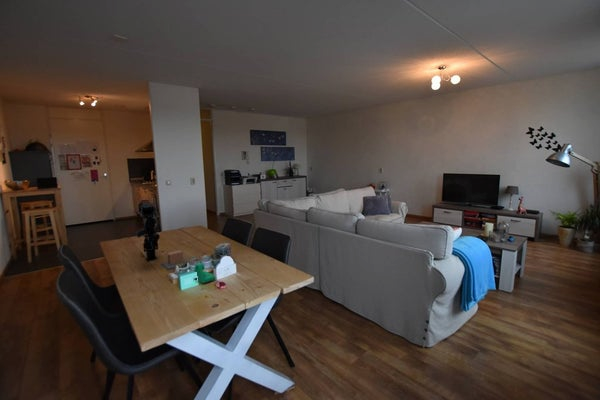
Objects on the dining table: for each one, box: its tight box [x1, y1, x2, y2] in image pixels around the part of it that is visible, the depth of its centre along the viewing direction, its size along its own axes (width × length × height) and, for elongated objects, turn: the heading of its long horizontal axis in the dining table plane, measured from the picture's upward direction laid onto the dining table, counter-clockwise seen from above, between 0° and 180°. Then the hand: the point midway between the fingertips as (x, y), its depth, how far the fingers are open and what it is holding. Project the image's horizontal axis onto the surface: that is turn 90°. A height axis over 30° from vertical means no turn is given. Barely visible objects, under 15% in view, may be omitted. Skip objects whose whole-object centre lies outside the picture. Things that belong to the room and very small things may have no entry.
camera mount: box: [193, 262, 216, 284], centre depth 161 cm, size 12×8×10 cm, turn 48°
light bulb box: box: [214, 242, 232, 257], centre depth 190 cm, size 11×7×11 cm, turn 168°
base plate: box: [160, 257, 189, 271], centre depth 186 cm, size 14×14×4 cm
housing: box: [166, 249, 184, 265], centre depth 186 cm, size 5×8×7 cm, turn 131°
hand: (151, 247), depth 185 cm, fingers open, 9 cm apart
